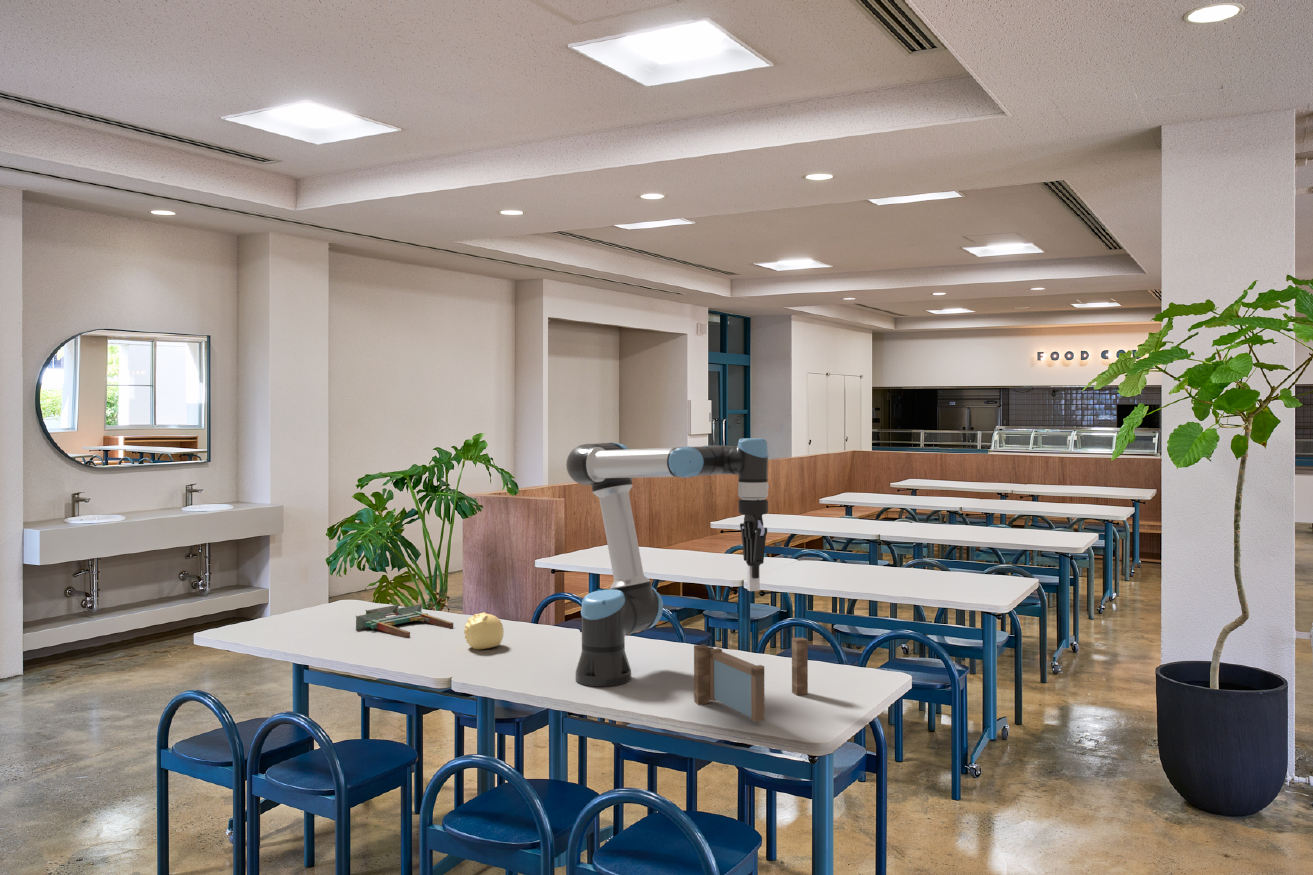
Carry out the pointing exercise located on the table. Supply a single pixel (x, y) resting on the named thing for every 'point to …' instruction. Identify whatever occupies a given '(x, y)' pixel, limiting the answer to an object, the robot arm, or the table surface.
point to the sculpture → (483, 631)
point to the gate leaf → (737, 684)
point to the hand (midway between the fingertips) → (753, 590)
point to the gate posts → (704, 670)
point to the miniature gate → (396, 619)
